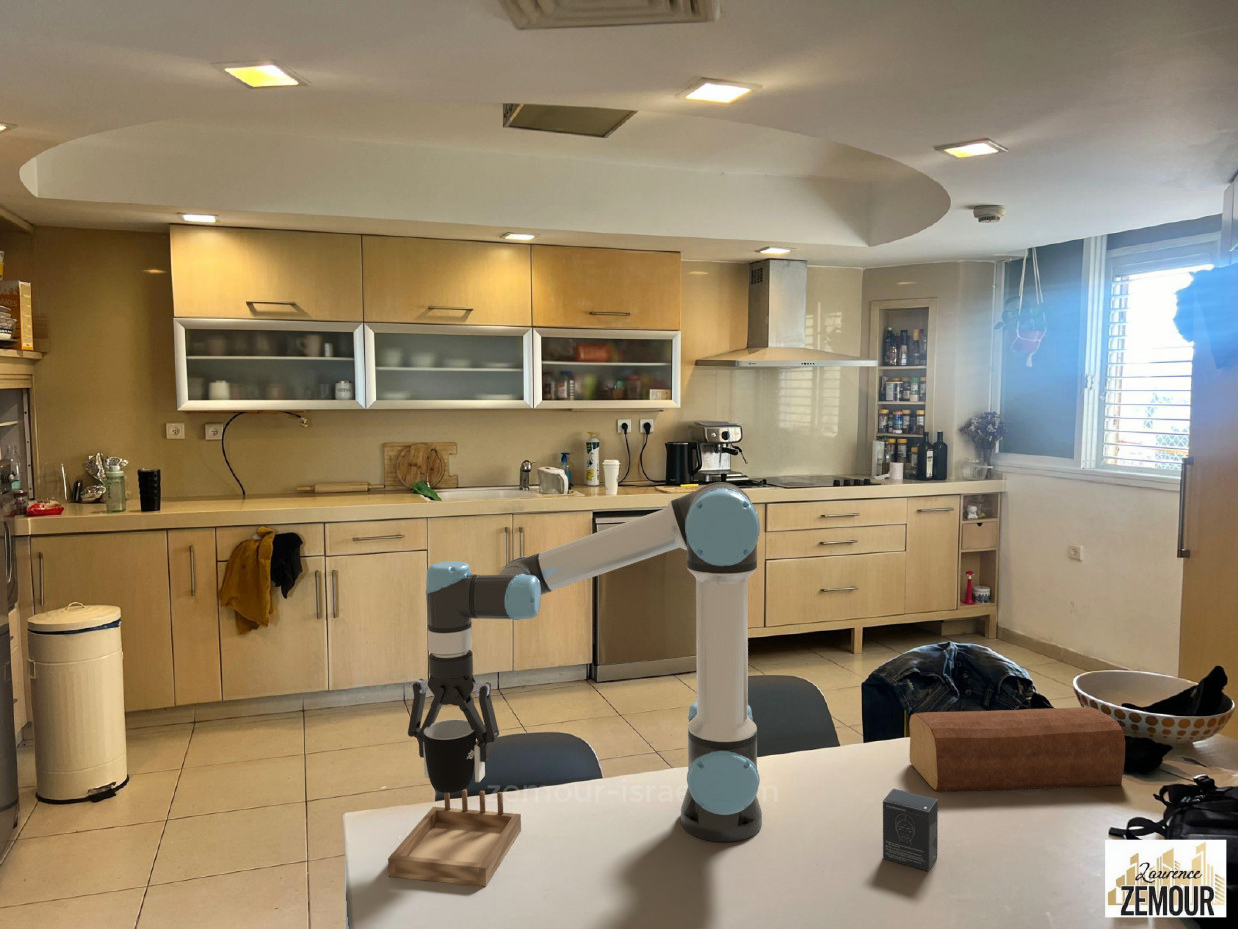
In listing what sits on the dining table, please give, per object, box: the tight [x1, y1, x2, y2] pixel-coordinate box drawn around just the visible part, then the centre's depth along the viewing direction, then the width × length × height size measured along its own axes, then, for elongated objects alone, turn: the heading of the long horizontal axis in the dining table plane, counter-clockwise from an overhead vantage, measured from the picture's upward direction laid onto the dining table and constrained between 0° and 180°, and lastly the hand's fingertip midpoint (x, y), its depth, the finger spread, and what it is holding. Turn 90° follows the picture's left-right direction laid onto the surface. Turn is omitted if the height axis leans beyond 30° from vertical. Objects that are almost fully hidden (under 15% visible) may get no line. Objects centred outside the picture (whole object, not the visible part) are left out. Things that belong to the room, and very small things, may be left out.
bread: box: [909, 706, 1126, 793], centre depth 179 cm, size 16×39×13 cm, turn 92°
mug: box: [424, 718, 477, 794], centre depth 151 cm, size 12×9×10 cm
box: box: [882, 788, 939, 872], centre depth 148 cm, size 8×6×11 cm
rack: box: [387, 788, 522, 887], centre depth 153 cm, size 17×18×7 cm
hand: (454, 776), depth 152 cm, fingers closed on mug, 9 cm apart
